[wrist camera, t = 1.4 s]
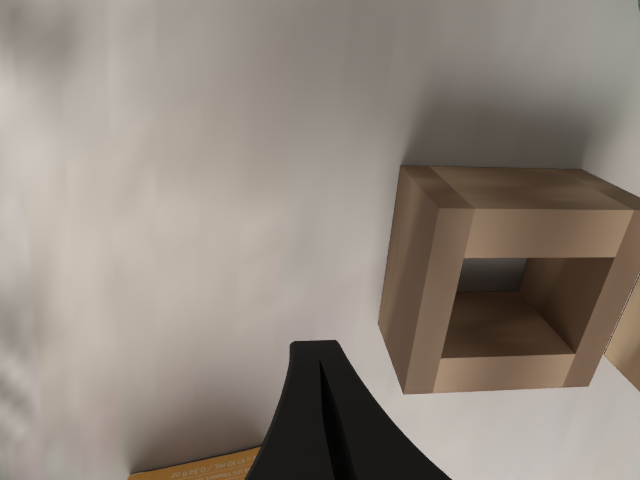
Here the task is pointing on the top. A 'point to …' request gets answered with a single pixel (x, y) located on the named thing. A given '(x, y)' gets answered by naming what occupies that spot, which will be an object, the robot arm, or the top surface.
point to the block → (506, 306)
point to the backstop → (627, 340)
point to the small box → (205, 468)
